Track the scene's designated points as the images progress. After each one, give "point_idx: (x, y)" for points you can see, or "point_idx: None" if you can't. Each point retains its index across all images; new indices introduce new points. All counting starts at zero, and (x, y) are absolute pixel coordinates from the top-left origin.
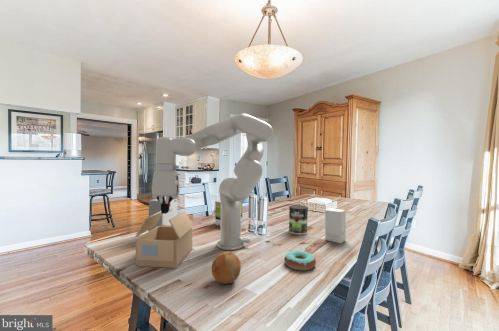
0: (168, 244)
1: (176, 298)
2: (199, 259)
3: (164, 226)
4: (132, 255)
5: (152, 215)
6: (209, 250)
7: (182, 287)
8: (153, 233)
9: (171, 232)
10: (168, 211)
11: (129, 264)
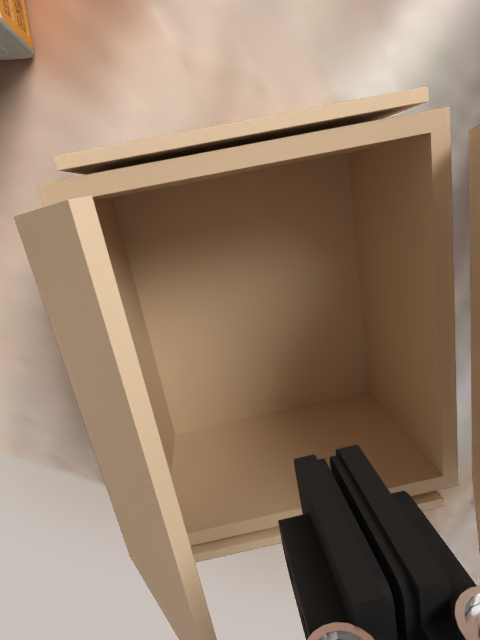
0: None
1: (473, 563)
2: (454, 272)
3: (126, 176)
4: (37, 346)
5: (187, 576)
6: (476, 116)
7: (467, 511)
8: None
9: (215, 175)
10: (357, 445)
11: None
